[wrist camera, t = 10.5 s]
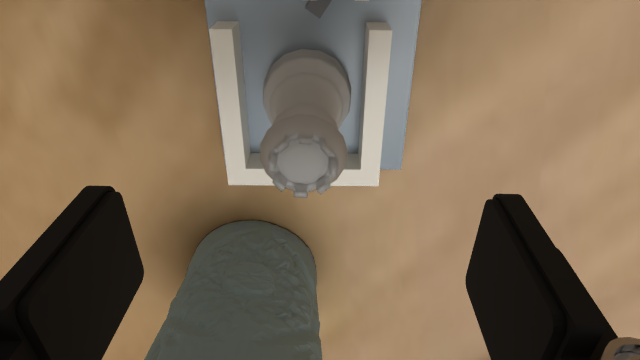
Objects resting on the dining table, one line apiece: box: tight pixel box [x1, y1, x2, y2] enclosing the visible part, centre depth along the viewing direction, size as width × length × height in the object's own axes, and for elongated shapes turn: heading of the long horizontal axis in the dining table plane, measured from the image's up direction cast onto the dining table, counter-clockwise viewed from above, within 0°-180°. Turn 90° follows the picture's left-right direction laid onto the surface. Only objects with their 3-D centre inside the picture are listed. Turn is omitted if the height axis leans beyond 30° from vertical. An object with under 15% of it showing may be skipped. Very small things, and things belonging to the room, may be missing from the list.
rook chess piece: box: [260, 49, 352, 198], centre depth 18 cm, size 4×4×8 cm
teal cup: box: [144, 220, 322, 360], centre depth 25 cm, size 10×10×12 cm
